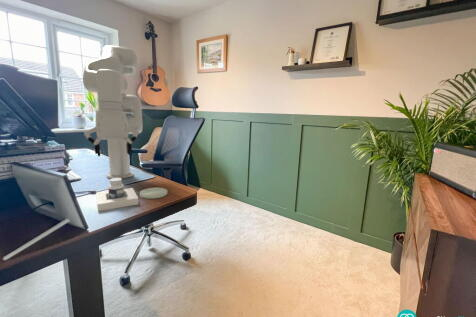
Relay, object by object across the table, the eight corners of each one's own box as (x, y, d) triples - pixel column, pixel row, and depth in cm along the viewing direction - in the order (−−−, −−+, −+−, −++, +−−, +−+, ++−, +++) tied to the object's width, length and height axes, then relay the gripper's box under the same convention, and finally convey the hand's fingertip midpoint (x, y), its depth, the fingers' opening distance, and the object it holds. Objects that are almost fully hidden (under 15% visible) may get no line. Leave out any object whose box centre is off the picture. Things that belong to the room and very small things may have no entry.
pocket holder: (96, 198, 90) (96, 192, 89) (132, 193, 97) (132, 187, 96) (98, 211, 79) (97, 204, 79) (138, 204, 86) (138, 198, 86)
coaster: (137, 192, 99) (137, 189, 98) (163, 188, 104) (163, 186, 104) (142, 200, 90) (142, 198, 89) (170, 196, 95) (170, 193, 95)
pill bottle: (106, 202, 87) (104, 179, 85) (119, 198, 91) (118, 176, 90) (114, 205, 84) (113, 182, 83) (127, 201, 89) (126, 178, 87)
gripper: (135, 108, 89) (137, 151, 92) (81, 106, 79) (86, 154, 83) (139, 108, 82) (141, 155, 86) (81, 105, 73) (86, 158, 76)
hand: (114, 154), depth 84 cm, fingers open, 9 cm apart
